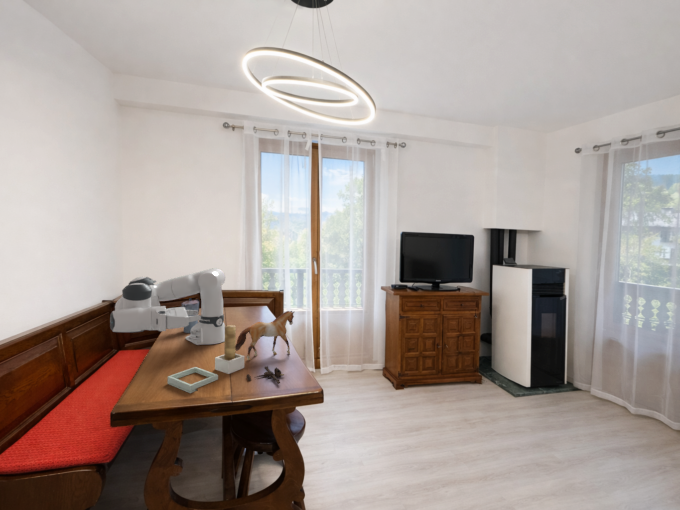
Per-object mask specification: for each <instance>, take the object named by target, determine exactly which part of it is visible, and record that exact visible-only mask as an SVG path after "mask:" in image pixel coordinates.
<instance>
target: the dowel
mask: <svg viewBox="0 0 680 510" xmlns="http://www.w3.org/2000/svg"><path fill="white" fill-rule="evenodd" d="M236 327H237V326H236V325H234V324H229V325H228V324H227V325H225V341H224V354H223V355H224V359H225V360H228V361H230V360H232V359H235V353H236V350H235V346H236V344H237V339H236V338H237V337H236V336H237V335H236V334H237V332H236V330H237V329H236Z"/></svg>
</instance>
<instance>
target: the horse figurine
mask: <svg viewBox="0 0 680 510" xmlns="http://www.w3.org/2000/svg"><path fill="white" fill-rule="evenodd" d="M294 313H295V311H293V310H287V311H284V312H282V313H281V314H280V315H279V316H278V317H276V318H275V319H274V320H273V321H270V322H263V321H257V322H255V323H253V324H251V326H248V327H246V328H245V329H243V330H242V331H241V332H240V333H239V335H238V338H237V339H236V344H235V352H237V351H239V350H240V349H241V348H242V346H243V345H244V344H245V342H246V340H247V335H248V333H249V335H250V338H251V342H250V344H249V346H248V350H247V355H246V358H247V361H251V360H252V359H251V357H250V355H251V352H252V349H253V353H254V354H253V355H254V357H258V351H257V349H256V347H255V346H256V344H257V342H258V341H259V340H260V338H262V337H267V338H271V337H272V338H273V343H272V350H271V351H272V353H273V355H274V356H276V355H278V353H277V351H275V347H276V344H277V338H278V337H280V338H281V339H282V340H283V341H284V343H285V344H286V346H287V350H286V353H287V354H288V355H290V353H291V352H290V351H291V348H290V343H289V340H288V337H287V335H286V334H287V332H288V331H287V327H286V325H287V322H288V323H289V325H290V326H292V325H293V324H294V322H293V320H294V317H295V316H294Z"/></svg>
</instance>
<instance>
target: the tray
mask: <svg viewBox="0 0 680 510" xmlns="http://www.w3.org/2000/svg"><path fill="white" fill-rule="evenodd" d="M194 373H197V374H199V375H201V376H203V377H204V376H205V377H206V378H204V379H201V380H199V381H195V382H194V383H188V382H186V381H184V380H181V379H180V378H183V377H186V376H188V375H192V374H194ZM218 380H219V375H218V374H217V373H214V372H211V371H208V370H206V369H204V368H199V367H197V366H194V367H190V368H188V369H185V370H182V371H179V372H177V373H176V372H175V373H174V374H171V375H168V376H167V385H169V386H172V387H174V388H177V389H179V390H181V391H184V392H186V393H189V394H192V393H195V392H197V391H198V389H199V388H201V387H203V386H206V385H208V384H211V383H212V382H215V381H218Z"/></svg>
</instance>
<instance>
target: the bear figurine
mask: <svg viewBox="0 0 680 510" xmlns="http://www.w3.org/2000/svg"><path fill="white" fill-rule="evenodd" d="M264 369H265V370H266V371H265V372H264V373H263V374H261V375H257V376H254V379H256V380H260V379H267V380H269V379H273V380H274V381H275V382H276V384H278V385H280V384H281V381H280V379H278V378H280V377H282V376H285V374H284V373H282V371H281V370H280V369H279V368H277V367H275V368H274V370H273V371H274V372H273V371H272V370H270V369H269V366H268V365H267V366H264ZM246 379H247V381H248V382H251V381H252V376H251V374H248V373H247V374H246Z"/></svg>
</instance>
